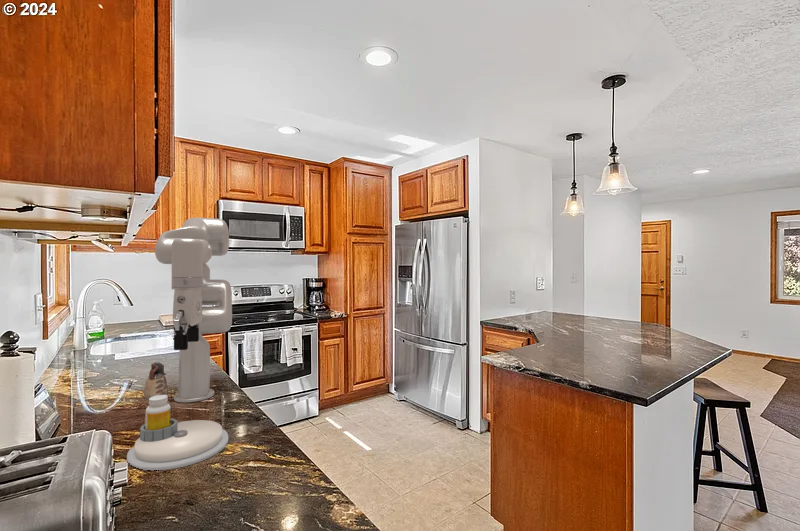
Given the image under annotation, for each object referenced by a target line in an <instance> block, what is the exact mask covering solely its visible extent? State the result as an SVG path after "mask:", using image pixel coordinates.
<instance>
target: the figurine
mask: <svg viewBox="0 0 800 531" xmlns="http://www.w3.org/2000/svg"><path fill="white" fill-rule="evenodd" d="M166 374H167V373H166V372H165V365H164V364H163V363H161V362H157V361H156V362H155V361H154V362H153V363H151V364H150V370H149V375H148V376H147V378H146V381H145V386H144V390H143V398H144V399H146V400H149V398H151V397H153V396H157V395H167V396H168V393H169V392H168V391H169V388H168V384H167V378H166Z"/></svg>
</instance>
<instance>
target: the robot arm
mask: <svg viewBox="0 0 800 531" xmlns="http://www.w3.org/2000/svg"><path fill="white" fill-rule="evenodd" d="M227 224H228V223H226V221H225V220H224V219H221V218H215V217H214V218H212V217H210V218H209V217H190V218H188V219H186V220H185V221H184V223H183V224H182V227H178V228H174V229H171V230H170V229H169V230H166V231H165V232H162V233H161V234H160V236H159V237H158V239H157V240H156V243H155V248H154V254H155V258H156V260H157V261H158V262H159V263H160V264H163V265H171V288H170V289H171V290H174V292H173V293H174V294H173V302H172V303H173V305H172V324H173V350H174V351H179V352H178V353H179V356H178V357H179V359H178V362H179V364H178V367H179V369H178V372H179V373H178V382H177V384H175V385H174V386H173V389H175V390H177V393H175V394H174V396H173V401H174V402H178V403H195V402H200V401H205V400H207V399H210V398H212V397H213V396H214V395H215V390H214V389H212V388H210V386H211V384H210V382H211V380H210V378H211V373H210V372H211V369H210V368H211V367H210V366H211V346H210V343H209V341H208V340H207V339H206V338H205V337H204V336H203V335H206V334H216V333H218V334H219V333H226V332H229V331H230V330H231V327H232V324H233V296H232V295H233V294H232V293H233V292H232V286H231V283H230V282H229V281H228V280H226V279H211V269H210V266H209V265H207V263H208V262H209V261H210V260H211V259H212V256H213V257H215V256H217V257H220V256H225V255H227V254H228V252H229V247H230V232H229V227H228V225H227Z"/></svg>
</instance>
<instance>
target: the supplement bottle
mask: <svg viewBox="0 0 800 531" xmlns="http://www.w3.org/2000/svg"><path fill="white" fill-rule="evenodd" d="M168 397H169V396H168V395H157V396H153V397H151V398H149V399H148V406H147V407H146V409H145V412H144V413H145V415H144V416H145V419H144V420H145V421H144V424H145V429H146V430H158V429H163V428H166V427H169V426H170V419H171V416H172V415H171V412H172V411H171V410H172V409H171V404H169V403H168V400H169V398H168Z"/></svg>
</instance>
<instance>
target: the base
mask: <svg viewBox="0 0 800 531" xmlns="http://www.w3.org/2000/svg"><path fill="white" fill-rule="evenodd" d="M228 444H229V434H228V432H227V431H226V430H225V429H223V428H222V439H221V440H220V442H219V443H218V444H217V445H215V446H214V447H212V448H211V449H209V450H207V451H205V452H203V453H200V454H197V455H194V456H191V457H188V458H184V459H179V460H174V461H166V462H149V461H144V460H141V459H139V458H137V457H136V456H135V444H134V445H132V447H131V448H130V449H129V450H128V452H127V454H126V462H127V461H128V463H130V465H132V466H134V467H136V468H139V469H143V470H142V471H147V470H151V471H152V472H154V470H157V471H158V470H159V471H167V470H169V471H170V470H174V469H181V468H183V467H188V466H191V465H194V464H198V463H201V462H203V461H205V460H208V459H210V458H211V457H215V455H217V454H219V453H220V452H221V451H223V450H224V449H225V448H226V447H227V445H228ZM128 463H127V464H128ZM130 465H129V466H130ZM139 469H138V470H139ZM151 471H150V472H151ZM159 471H158V472H159Z"/></svg>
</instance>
